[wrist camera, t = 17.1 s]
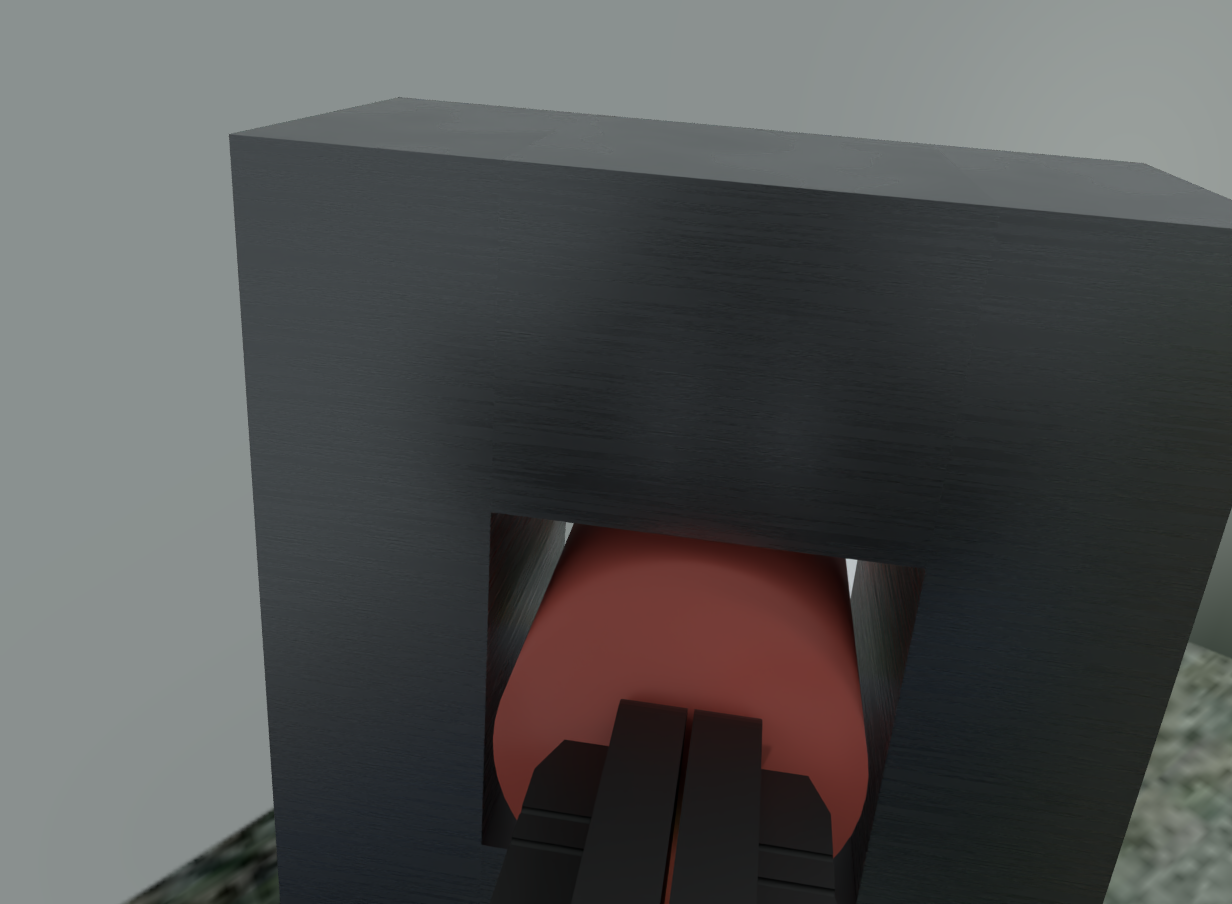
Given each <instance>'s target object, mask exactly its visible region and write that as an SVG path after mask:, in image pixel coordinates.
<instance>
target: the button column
mask: <svg viewBox="0 0 1232 904" xmlns="http://www.w3.org/2000/svg"><path fill="white" fill-rule="evenodd" d="M229 140H230V156H231V171H232V184H233V185H232V186H233V201H234V216H235V231H236V246H237V261H238V276H239V291H240V305H241V321H242V336H243V350H244V365H245V380H246V396H247V411H248V426H249V441H250V456H251V471H252V486H253V500H254V515H255V530H256V546H257V560H258V576H259V591H260V604H261V605H260V606H261V620H262V636H263V650H264V665H265V681H266V696H267V711H268V725H269V740H270V754H271V755H270V756H271V771H272V784H273V785H272V786H273V801H274V816H275V831H276V846H277V861H278V876H279V891H280V904H489V903H490V900H491V897H492V894H493V891H494V888H495V885H496V882H497V879H498V876H499V873H500V870H501V867H502V864H503V861H504V858H505V855H506V852H507V849H508V846H509V845H510V844H511V838H512V834H513V831H514V828H515V825H516V822H517V819H516V818H515V817H514V815H513V813H512V811H511V809H510V807H509V805H508V803H507V801H506V799H505V798H504V795H503V792H502V789H501V786H500V783H499V781H498V777H497V772H496V767H495V762H494V753H493V734H494V725H495V718H496V714H497V711H498V707H499V704H500V700H501V698H502V695H503V693H504V691H505V688H506V686H507V683H508V681H509V679H510V676H511V674H512V671H513V669H514V666H515V664H516V662H517V659H518V657H519V654H520V652H521V650H522V647H523V645H524V642H525V640H526V638H527V635H528V633H529V630H530V628H531V626H532V623H533V621H534V618H535V616H536V614H537V611H538V609H539V606H540V604H541V601H542V599H543V597H544V594H545V592H546V589H547V587H548V585H549V582H550V580H551V577H552V575H553V573H554V570H555V568H556V565H557V563H558V561H559V558H560V556H561V553H562V551H563V549H564V543H565V526H566V522H569V523H577V524H585V525H592V526H600V527H608V528H616V529H623V530H631V531H639V532H646V533H654V534H662V535H669V536H677V537H685V538H692V539H700V540H708V541H715V542H723V543H731V544H738V545H746V546H754V547H761V548H769V549H777V550H785V551H792V552H800V553H808V554H815V555H823V556H831V557H838V558H846V559H854V560H857V565H856V570H855V576H854V582H853V587H852V593H851V598H850V600H851V609H852V618H853V627H854V636H855V646H856V655H857V664H858V673H859V682H860V691H861V700H862V709H863V718H864V727H865V736H866V745H867V754H868V774H869V777H868V785H867V794H866V799H865V802H864V806H863V809H862V813H861V816H860V818H859V820H858V822H857V824H856V826H855V829H854V831H853V833H852V835H851V836H850V838H849V839H848V840H847V842H846V843H845V845H844V846H843V848H842V849H841V851H840V852H839V853H838V854H837V855H836V856H835V857H834V858H833V863H834V876H835V898H836V904H1103V901H1104V898H1105V895H1106V892H1107V889H1108V886H1109V883H1110V879H1111V876H1112V873H1113V870H1114V867H1115V864H1116V861H1117V858H1118V855H1119V852H1120V849H1121V846H1122V843H1123V840H1124V836H1125V833H1126V830H1127V827H1128V824H1129V821H1130V818H1131V815H1132V812H1133V809H1134V806H1135V803H1136V800H1137V797H1138V794H1139V790H1140V787H1141V784H1142V781H1143V778H1144V775H1145V772H1146V769H1147V766H1148V763H1149V760H1150V757H1151V754H1152V751H1153V747H1154V744H1155V741H1156V738H1157V735H1158V732H1159V729H1160V726H1161V723H1162V720H1163V717H1164V714H1165V711H1166V708H1167V704H1168V701H1169V698H1170V695H1171V692H1172V689H1173V686H1174V683H1175V680H1176V677H1177V674H1178V671H1179V668H1180V665H1181V661H1182V658H1183V655H1184V652H1185V649H1186V646H1187V643H1188V640H1189V636H1190V634H1191V631H1192V628H1193V624H1194V622H1195V618H1196V615H1197V612H1198V609H1199V606H1200V603H1201V600H1202V597H1203V594H1204V591H1205V588H1206V585H1207V581H1208V579H1209V575H1210V572H1211V569H1212V566H1213V563H1214V560H1215V557H1216V554H1217V551H1218V548H1219V545H1220V542H1221V539H1222V535H1223V532H1224V529H1225V526H1226V523H1227V520H1228V517H1229V514H1230V511H1231V508H1232V200H1231V199H1228V198H1226V197H1223V196H1221V195H1219V194H1216V193H1213V192H1211V191H1209V190H1206V189H1204V188H1202V187H1199V186H1197V185H1195V184H1192V183H1190V182H1188V181H1185V180H1183V179H1180V178H1178V177H1175V176H1173V175H1171V174H1168V173H1166V172H1164V171H1161V170H1159V169H1156V168H1154V167H1152V166H1149V165H1147V164H1144V163H1135V162H1124V161H1113V160H1101V159H1090V158H1078V157H1067V156H1056V155H1045V154H1034V153H1021V152H1011V151H1000V150H988V149H977V148H966V147H955V146H943V145H931V144H920V143H910V142H909V143H908V142H898V141H885V140H875V139H864V138H853V137H841V136H831V135H819V134H807V133H797V132H796V133H795V132H784V131H774V130H763V129H751V128H739V127H729V126H717V125H706V124H695V123H684V122H672V121H660V120H650V119H638V118H626V117H616V116H605V115H592V114H582V113H571V112H559V111H548V110H537V109H526V108H513V107H503V106H491V105H481V104H469V103H457V102H447V101H435V100H424V99H412V98H402V97H398V98H394V99H389V100H385V101H380V102H375V103H371V104H367V105H362V106H357V107H352V108H348V109H343V110H338V111H334V112H329V113H325V114H320V115H316V116H311V117H306V118H302V119H297V120H293V121H288V122H283V123H278V124H274V125H269V126H265V127H260V128H255V129H251V130H246V131H242V132H237V133H233V134H229Z"/></svg>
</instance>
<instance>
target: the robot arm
mask: <svg viewBox="0 0 1232 904" xmlns="http://www.w3.org/2000/svg"><path fill="white" fill-rule="evenodd" d="M687 712H688V708H682V707H675V706H669V705H662V704H655V703H648V702H641V701H634V700H627V699H621V700H620V703H619V706H618V710H617V714H616V718H615V723H614V727H613V731H612V735H611V739H610V743H609V746H604V745H598V744H591V743H585V742H578V741H571V740H564V741H563V742H561V743H560V744H559V745H558V746H557V747H556V748H555V749H554V750H553V751H552V752H551V753H550V754H549V755H548V756H547V757H546V758H545V759H544V760H543V761H542V762H541V763H540V764H539V765H538V766H537V767H536V768H534V771H533V774H532V777H531V780H530V783H529V786H528V789H527V792H526V795H525V798H524V801H523V804H522V810H521V814H520V813H519V816H518V819H517V822H516V825H515V828H514V831H513V834H512V838H511V844H510V845H509V846H508V849H507V852H506V855H505V858H504V861H503V864H502V867H501V870H500V873H499V876H498V879H497V882H496V885H495V888H494V891H493V894H492V897H491V900H490V903H489V904H664V903H665V896H666V889H667V881H668V874H669V866H670V858H671V850H672V842H673V834H674V825H675V817H676V808H677V799H678V791H679V782H680V773H681V765H682V756H683V747H684V739H685V730H686V721H687ZM761 756H762V719H759V718H753V717H746V716H739V715H732V714H725V713H718V712H712V711H705V710H698V709H694V717H693V724H692V732H691V740H690V747H689V755H688V762H687V770H686V778H685V785H684V793H683V801H682V808H681V816H680V824H679V831H678V839H677V847H676V854H675V862H674V870H673V877H672V885H671V892H670V900H669V904H836V898H835V876H834V863H833V841H832V824H831V813H830V812H829V810H828V808H827V807H826V805H825V803H824V802H823V800H822V798H821V796H820V795H819V793H818V791H817V790H816V788H815V786H814V785H813V783H812V781H811V780H810V778H809V776H805V775H799V774H792V773H785V772H779V771H772V770H765V769H761Z"/></svg>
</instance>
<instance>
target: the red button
mask: <svg viewBox="0 0 1232 904" xmlns="http://www.w3.org/2000/svg"><path fill="white" fill-rule="evenodd" d="M621 699H627V700H634V701H641V702H648V703H655V704H662V705H669V706H675V707H682V708H688V712H687V721H686V730H685V739H684V747H683V756H682V765H681V773H680V782H679V791H678V799H677V808H676V817H675V825H674V834H673V842H672V850H671V858H670V866H669V874H668V881H667V889H666V896H665V903H664V904H669V900H670V892H671V885H672V877H673V870H674V862H675V854H676V847H677V839H678V831H679V824H680V816H681V808H682V801H683V793H684V785H685V778H686V770H687V762H688V755H689V747H690V740H691V732H692V724H693V717H694V709H698V710H705V711H712V712H718V713H725V714H732V715H739V716H746V717H753V718H759V719H762V756H761V769H765V770H772V771H779V772H785V773H792V774H799V775H805V776H809V778H810V780H811V781H812V783H813V785H814V786H815V788H816V790H817V791H818V793H819V795H820V796H821V798H822V800H823V802H824V803H825V805H826V807H827V808H828V810H829V812H830V813H831V824H832V841H833V858H834V857H835V856H836V855H837V854H838V853H839V852H840V851H841V849H842V848H843V846H844V845H845V843H846V842H847V840H848V839H849V838H850V836H851V835H852V833H853V831H854V829H855V826H856V824H857V822H858V820H859V818H860V816H861V813H862V809H863V806H864V802H865V799H866V794H867V785H868V777H869V774H868V754H867V745H866V736H865V727H864V718H863V709H862V700H861V691H860V682H859V673H858V664H857V655H856V646H855V636H854V627H853V618H852V609H851V600H850V591H849V582H848V573H847V564H846V558H838V557H831V556H823V555H815V554H808V553H800V552H792V551H785V550H777V549H769V548H761V547H754V546H746V545H738V544H731V543H723V542H715V541H708V540H700V539H692V538H685V537H677V536H669V535H662V534H654V533H646V532H639V531H631V530H623V529H616V528H608V527H600V526H592V525H585V524H577V523H574V524H573V527H572V530H571V532H570V535H569V537H568V539H567V541H566V544H565V546H564V549H563V551H562V553H561V556H560V558H559V561H558V563H557V565H556V568H555V570H554V573H553V575H552V577H551V580H550V582H549V585H548V587H547V589H546V592H545V594H544V597H543V599H542V601H541V604H540V606H539V609H538V611H537V614H536V616H535V618H534V621H533V623H532V626H531V628H530V630H529V633H528V635H527V638H526V640H525V642H524V645H523V647H522V650H521V652H520V654H519V657H518V659H517V662H516V664H515V666H514V669H513V671H512V674H511V676H510V679H509V681H508V683H507V686H506V688H505V691H504V693H503V695H502V698H501V700H500V704H499V707H498V711H497V714H496V718H495V725H494V734H493V753H494V762H495V767H496V772H497V777H498V781H499V783H500V786H501V789H502V792H503V795H504V798H505V799H506V801H507V803H508V805H509V807H510V809H511V811H512V813H513V815H514V817H515V818H516V819H518V816H519V813H520V814H521V810H522V804H523V801H524V798H525V795H526V792H527V789H528V786H529V783H530V780H531V777H532V774H533V771H534V768H536V767H537V766H538V765H539V764H540V763H541V762H542V761H543V760H544V759H545V758H546V757H547V756H548V755H549V754H550V753H551V752H552V751H553V750H554V749H555V748H556V747H557V746H558V745H559V744H560V743H561V742H563V741H564V740H571V741H578V742H585V743H591V744H598V745H604V746H609V743H610V739H611V735H612V731H613V727H614V723H615V718H616V714H617V710H618V706H619V703H620V700H621Z"/></svg>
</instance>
